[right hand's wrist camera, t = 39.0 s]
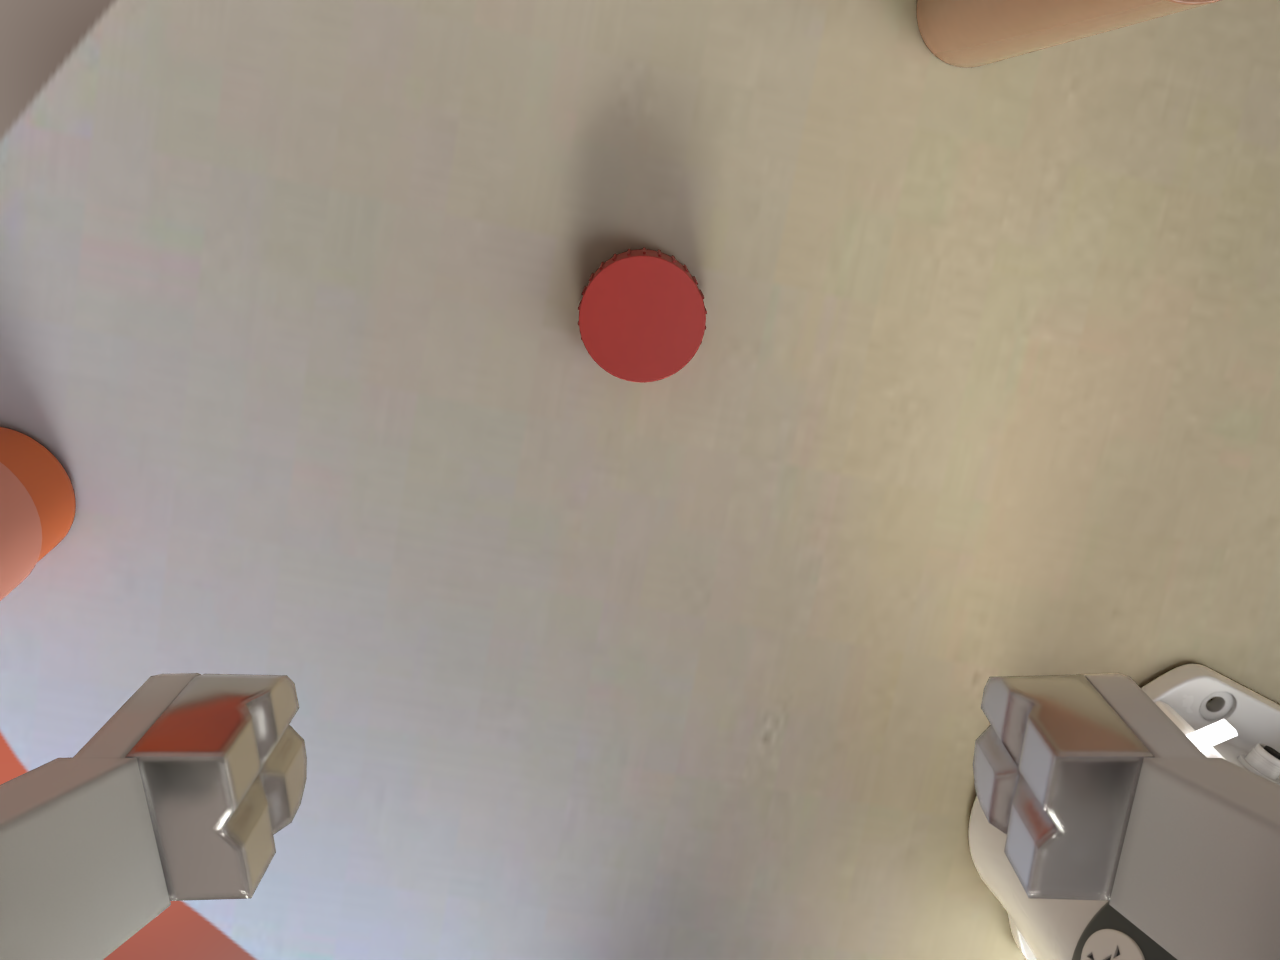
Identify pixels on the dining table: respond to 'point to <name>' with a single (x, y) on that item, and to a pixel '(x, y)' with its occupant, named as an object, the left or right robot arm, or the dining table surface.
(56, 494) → the cup with straw
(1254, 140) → the dining table surface
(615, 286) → the lid
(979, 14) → the jar
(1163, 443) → the dining table surface
